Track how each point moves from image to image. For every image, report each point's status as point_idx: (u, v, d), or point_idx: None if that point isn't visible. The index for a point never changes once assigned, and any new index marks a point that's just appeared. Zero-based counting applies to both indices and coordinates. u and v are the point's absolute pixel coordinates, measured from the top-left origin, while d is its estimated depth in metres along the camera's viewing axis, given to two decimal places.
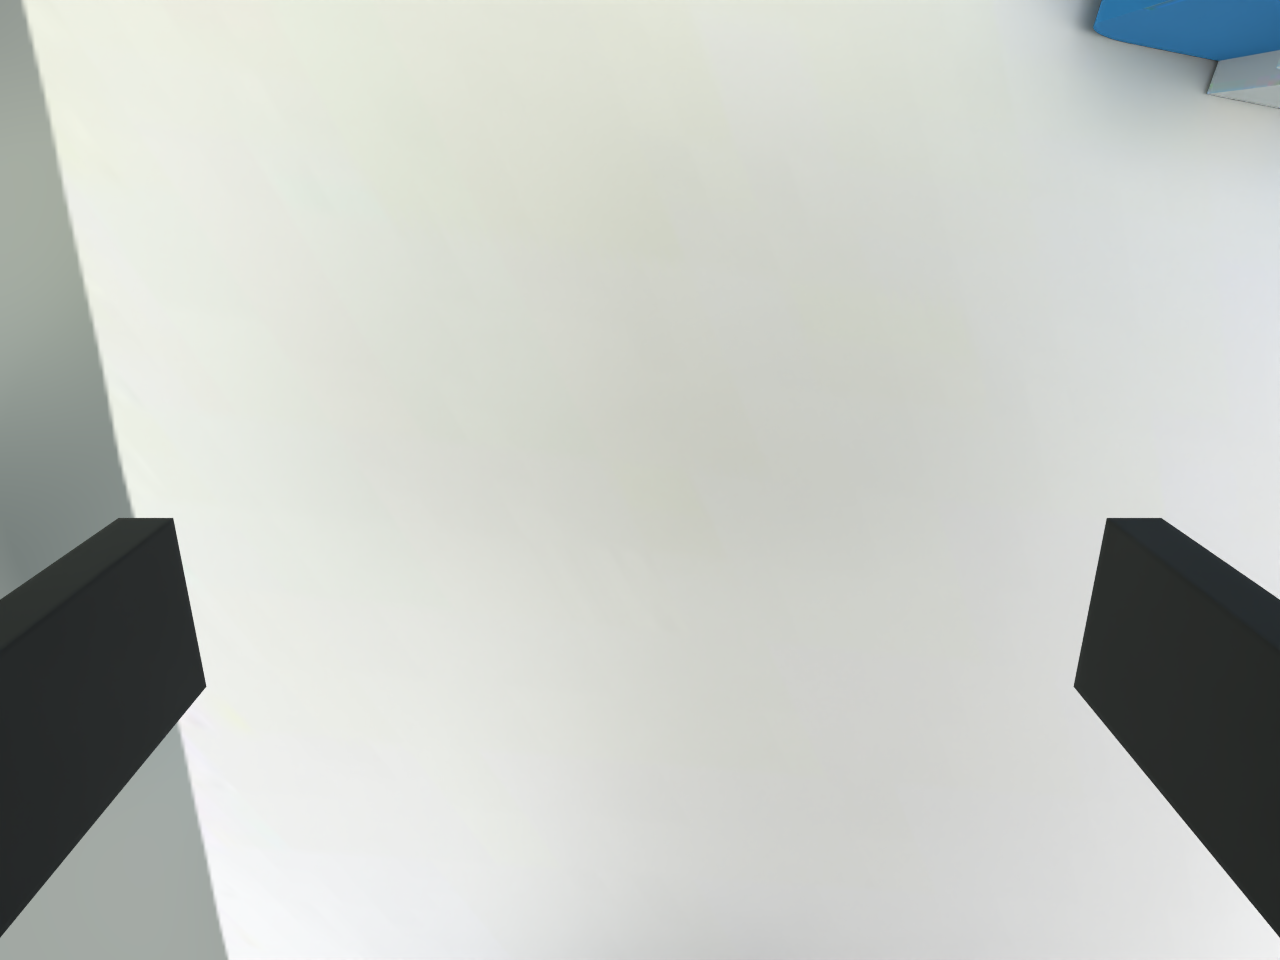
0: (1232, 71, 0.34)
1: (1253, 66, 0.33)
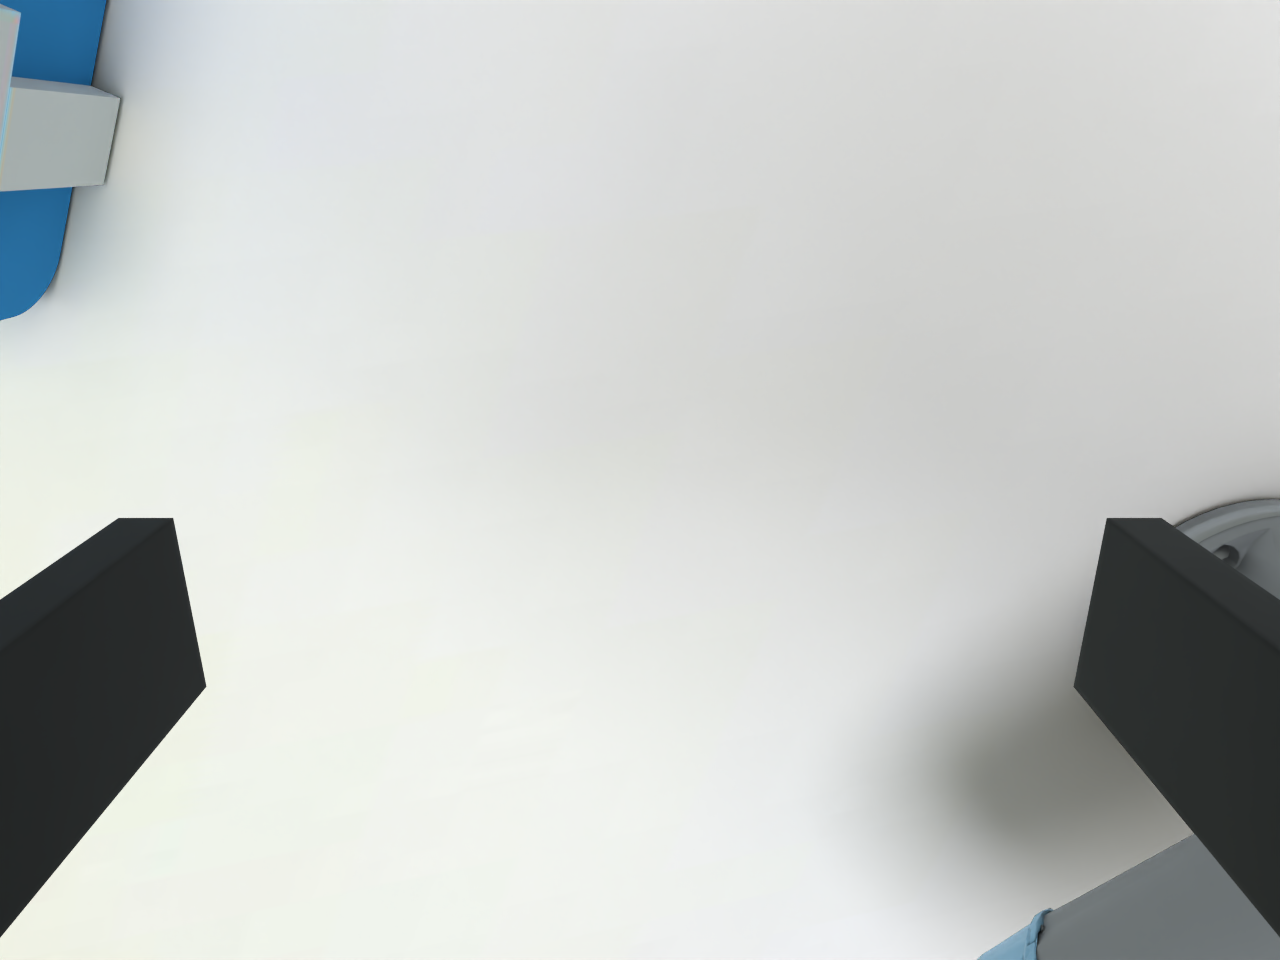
0: None
1: None
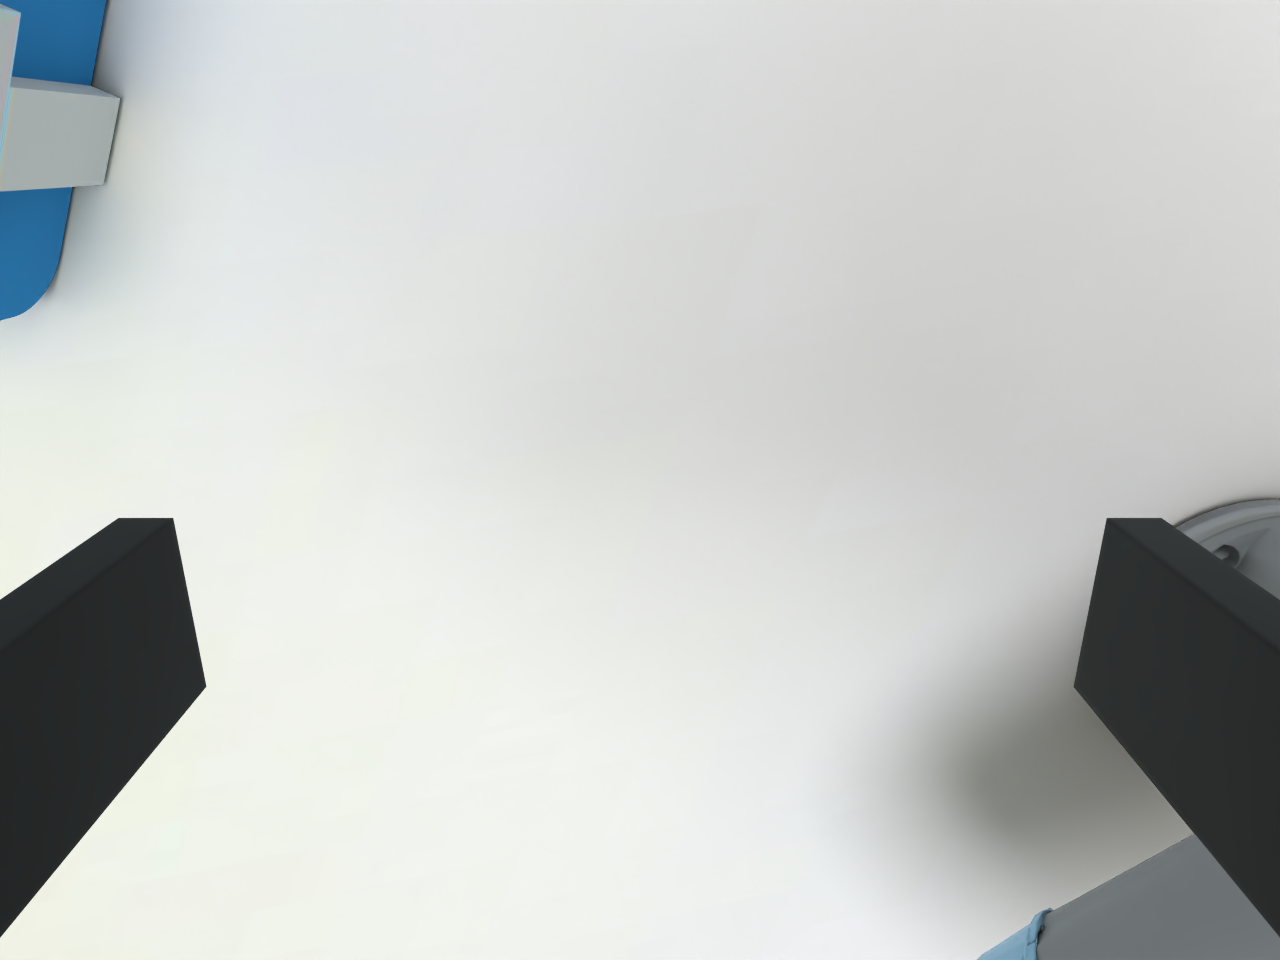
0: None
1: None
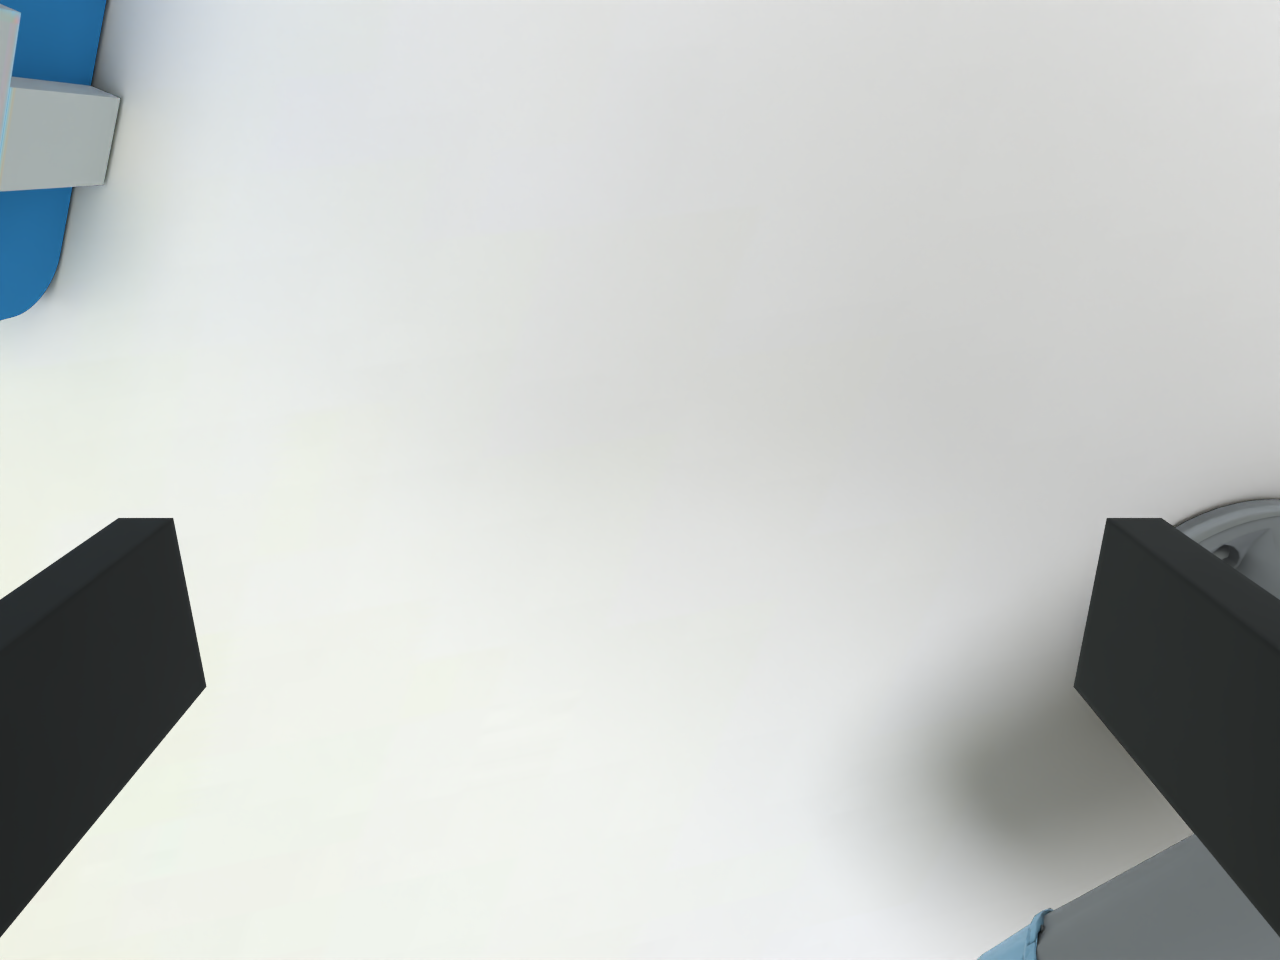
0: None
1: None
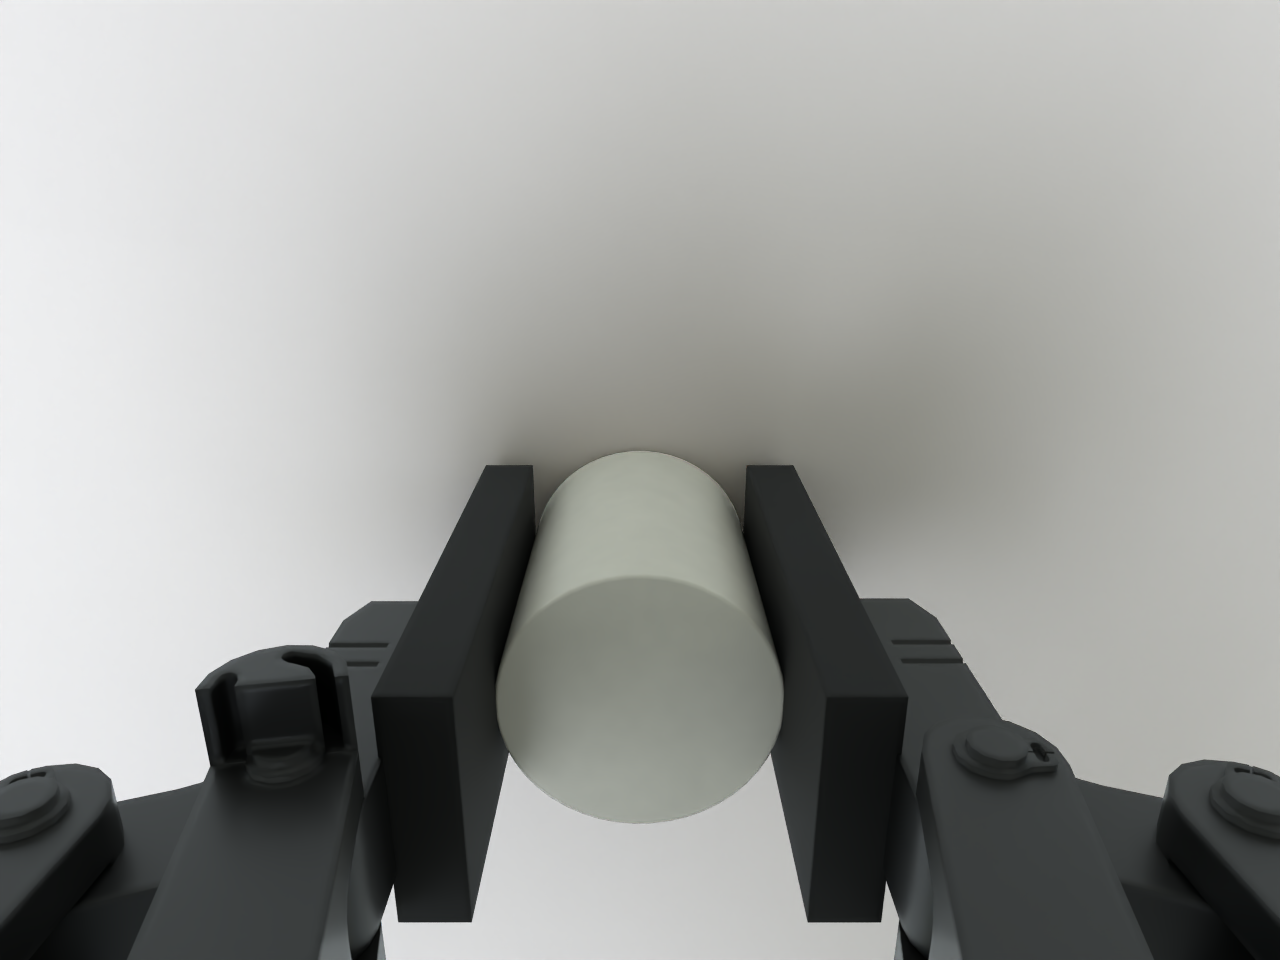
0: None
1: None
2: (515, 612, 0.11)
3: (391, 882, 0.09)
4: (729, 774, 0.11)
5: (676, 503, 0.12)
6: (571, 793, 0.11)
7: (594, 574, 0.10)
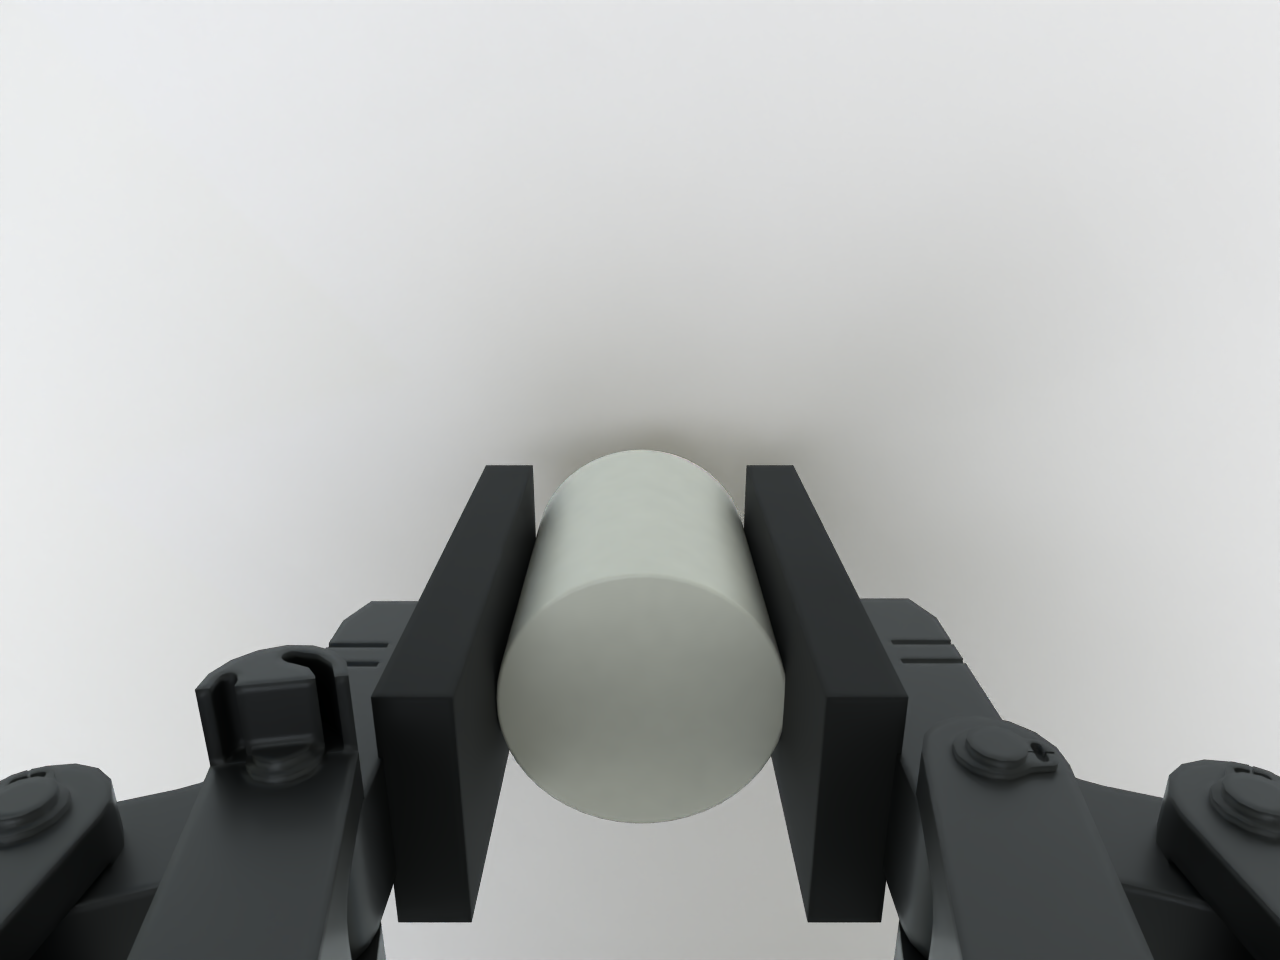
0: None
1: None
2: (517, 611, 0.11)
3: (391, 882, 0.09)
4: (731, 774, 0.11)
5: (678, 502, 0.12)
6: (573, 792, 0.11)
7: (596, 572, 0.10)
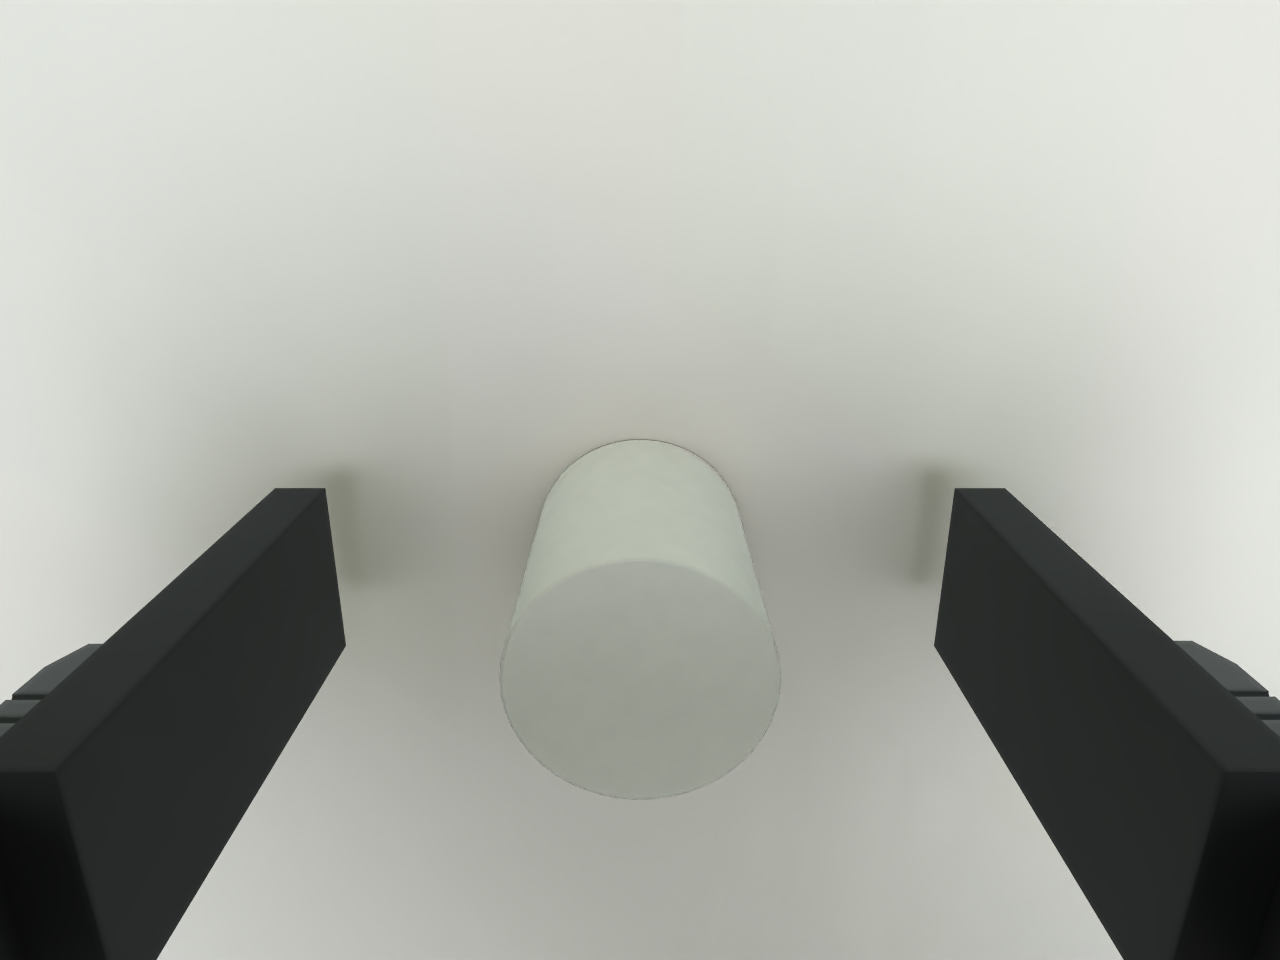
0: None
1: None
2: (519, 595, 0.12)
3: None
4: (727, 751, 0.11)
5: (675, 489, 0.13)
6: (574, 769, 0.11)
7: (596, 556, 0.11)
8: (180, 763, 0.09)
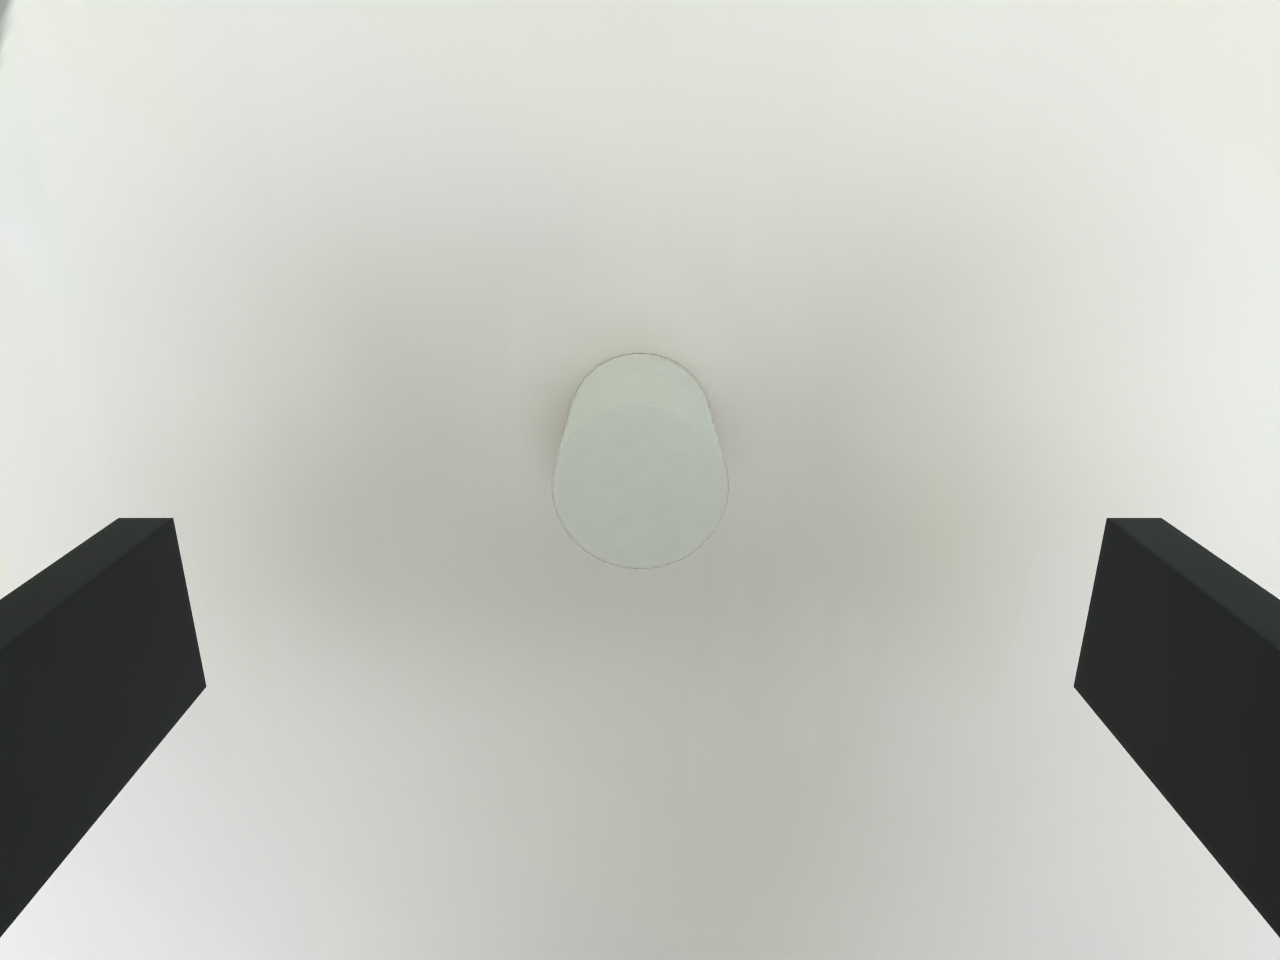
0: None
1: None
2: (562, 439, 0.18)
3: None
4: (695, 534, 0.18)
5: (663, 377, 0.19)
6: (598, 547, 0.18)
7: (613, 405, 0.17)
8: None
